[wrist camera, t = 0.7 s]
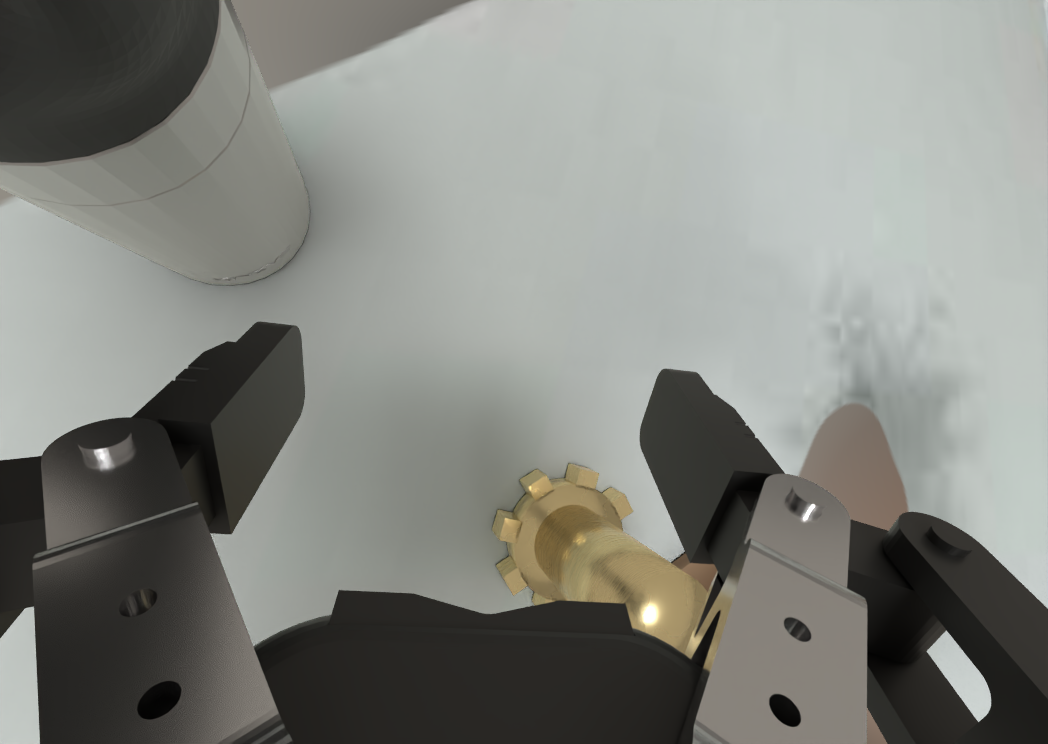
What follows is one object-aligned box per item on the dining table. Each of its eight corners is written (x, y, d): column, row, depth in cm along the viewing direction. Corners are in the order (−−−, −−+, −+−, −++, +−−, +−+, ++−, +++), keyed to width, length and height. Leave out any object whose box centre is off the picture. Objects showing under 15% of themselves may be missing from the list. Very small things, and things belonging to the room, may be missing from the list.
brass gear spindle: (466, 513, 32) (522, 607, 19) (585, 437, 34) (704, 477, 22) (533, 631, 33) (627, 789, 21) (643, 550, 36) (786, 648, 23)
